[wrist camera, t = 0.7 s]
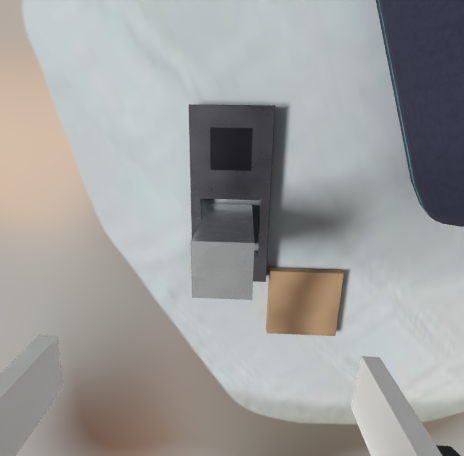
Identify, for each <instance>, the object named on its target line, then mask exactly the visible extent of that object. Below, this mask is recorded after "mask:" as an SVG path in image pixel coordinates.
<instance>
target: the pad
mask: <svg viewBox="0 0 464 456" xmlns="http://www.w3.org/2000/svg"><path fill="white" fill-rule="evenodd" d="M343 275H344V273H343V272H342V270H332V269H302V268H273V267H270V270H269V288H268V305H267V323H266V331H267V333H277V334H301V335H325V336H335V335H336V327H337V320H338V312H339V305H340V297H341V290H342V283H343Z"/></svg>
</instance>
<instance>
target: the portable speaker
mask: <svg viewBox="0 0 464 456" xmlns="http://www.w3.org/2000/svg"><path fill="white" fill-rule="evenodd" d="M376 3H377V8H378V13H379V18H380V24H381V29H382V34H383V39H384V44H385V49H386V54H387V60H388V65H389V70H390V75H391V80H392V85H393V90H394V95H395V101H396V106H397V111H398V116H399V121H400V126H401V131H402V136H403V142H404V147H405V152H406V157H407V162H408V167H409V172H410V178H411V182H412V184H413V187H414V190H415V192H416V195H417V197H418V200H419V203H420V205H421V206H422V207H423V209H424V210H425V211H426V212H427V214H428V215H429V216H430V217H431V218H433V219H434V220H435V221H438V222H440V223H443V224H449V225H455V226H461V227H462V226H464V0H376Z"/></svg>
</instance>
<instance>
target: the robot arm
mask: <svg viewBox="0 0 464 456" xmlns="http://www.w3.org/2000/svg"><path fill="white" fill-rule="evenodd" d="M62 389H63V380H62V371H61V361H60V352H59V343H58V336H56V335H39V336H38V337H37V338H36V339H35V340H34V341H33V342H32V343H31V344H30V345H29V346H28V347H27V348H26V349H25V350H24V351H23V352H22V353H21V354H20V355H19V356H18V357H17V358H16V359H15V360H14V361H13V362H12V363H11V364H10V365H9V366H8V367H7V368H6V369H5V370H4V371H3V372H2V373H1V374H0V456H16V454H17V453H18V452H19V450H20V449H21V447H22V446H23V444H24V443H25V442H26V440H27V439H28V437H29V436H30V434H31V433H32V432H33V430H34V428H35V427H36V426H37V425H38V423H39V422H40V420H41V419H42V417H43V416H44V415H45V413H46V412H47V410H48V409H49V407H50V406H51V405H52V403H53V402H54V400H55V399H56V398H57V396H58V395H59V393H60V392H61V390H62ZM351 409H352V411H353V414H354V416H355V418H356V421H357V423H358V426H359V428H360V430H361V433H362V435H363V437H364V440H365V442H366V445H367V447H368V450H369V452H370V455H371V456H460V455H459V454H458V453H457V452H456V451H455V450H454V449H453V448H452V447H450V446H437V445H435V443H434V442H433V440H432V439H431V437H430V435H429V434H428V433H427V431H426V429H425V428H424V426H423V425H422V423H421V421H420V420H419V418H418V417H417V415H416V414H415V412H414V410H413V409H412V407H411V406H410V404H409V403H408V401H407V400H406V398H405V396H404V395H403V393H402V392H401V390H400V389H399V387H398V385H397V384H396V382H395V381H394V379H393V378H392V376H391V374H390V373H389V371H388V370H387V368H386V367H385V365H384V364H383V362H382V360H381V359H380V357H365V356H362V358H361V362H360V367H359V372H358V377H357V382H356V386H355V391H354V396H353V401H352V405H351Z"/></svg>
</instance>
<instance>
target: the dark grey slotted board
mask: <svg viewBox="0 0 464 456" xmlns="http://www.w3.org/2000/svg"><path fill="white" fill-rule="evenodd" d="M274 113H275V106H257V105H189V135H190V176H191V217H192V238H193V236H194V234H195V232H196V230H197V228H198V226H199V224H200V222H201V220H202V199H240V200H260V215H259V238H258V251H254V265H253V281H260V282H266V264H267V245H268V226H269V207H270V188H271V169H272V150H273V131H274Z"/></svg>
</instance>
